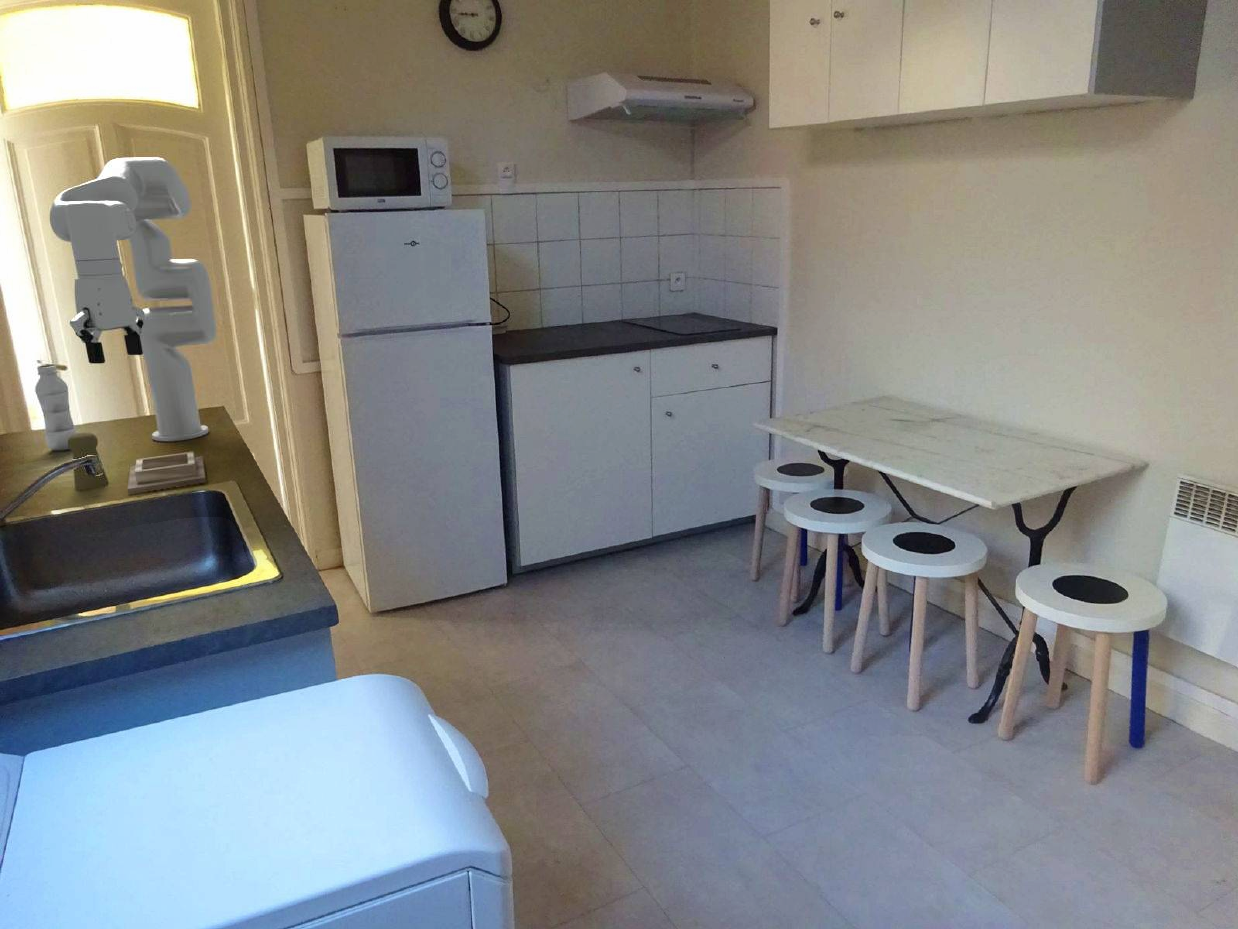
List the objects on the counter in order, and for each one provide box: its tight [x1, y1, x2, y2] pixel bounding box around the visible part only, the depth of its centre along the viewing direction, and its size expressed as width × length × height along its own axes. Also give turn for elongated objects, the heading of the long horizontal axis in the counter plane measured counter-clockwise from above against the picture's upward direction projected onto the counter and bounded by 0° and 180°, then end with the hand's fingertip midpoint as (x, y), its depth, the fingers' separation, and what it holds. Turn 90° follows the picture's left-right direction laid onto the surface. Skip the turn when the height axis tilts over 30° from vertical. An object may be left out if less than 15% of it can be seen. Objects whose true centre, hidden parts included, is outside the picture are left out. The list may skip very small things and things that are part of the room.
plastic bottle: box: [34, 364, 78, 451], centre depth 204 cm, size 6×7×20 cm
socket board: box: [127, 451, 207, 495], centre depth 182 cm, size 18×14×3 cm
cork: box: [67, 432, 110, 491], centre depth 177 cm, size 6×6×11 cm
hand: (116, 358), depth 170 cm, fingers open, 9 cm apart
